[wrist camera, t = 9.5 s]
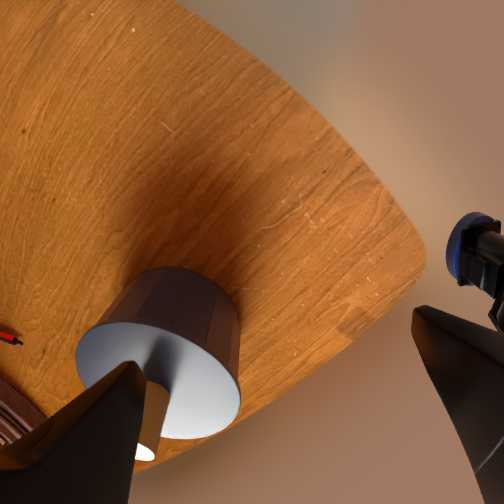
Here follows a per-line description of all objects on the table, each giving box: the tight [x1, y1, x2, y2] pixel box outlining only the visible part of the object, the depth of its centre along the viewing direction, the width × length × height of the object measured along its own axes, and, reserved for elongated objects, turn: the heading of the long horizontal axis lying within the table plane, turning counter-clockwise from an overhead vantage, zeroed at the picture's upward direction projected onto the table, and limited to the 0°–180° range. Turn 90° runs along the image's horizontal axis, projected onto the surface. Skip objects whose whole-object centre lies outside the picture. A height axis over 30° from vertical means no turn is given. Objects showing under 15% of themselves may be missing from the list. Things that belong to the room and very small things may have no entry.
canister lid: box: [75, 317, 241, 461], centre depth 14 cm, size 11×11×6 cm
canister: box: [97, 267, 241, 380], centre depth 19 cm, size 10×10×8 cm
